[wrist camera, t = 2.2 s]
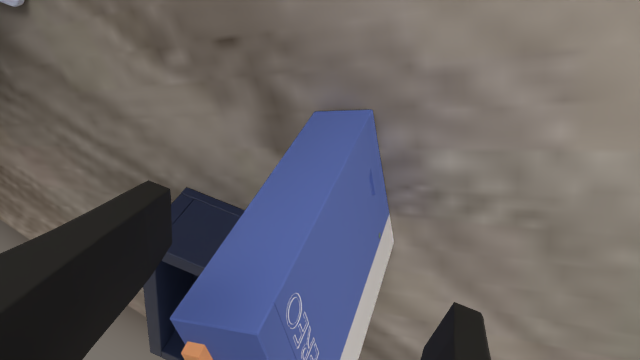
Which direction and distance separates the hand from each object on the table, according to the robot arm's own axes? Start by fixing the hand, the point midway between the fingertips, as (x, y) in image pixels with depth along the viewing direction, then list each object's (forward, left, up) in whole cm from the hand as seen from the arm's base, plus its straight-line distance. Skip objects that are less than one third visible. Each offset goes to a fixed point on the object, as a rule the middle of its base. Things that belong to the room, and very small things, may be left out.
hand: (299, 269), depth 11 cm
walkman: (0, -5, -11) cm, 12 cm away
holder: (-6, -16, -10) cm, 20 cm away
